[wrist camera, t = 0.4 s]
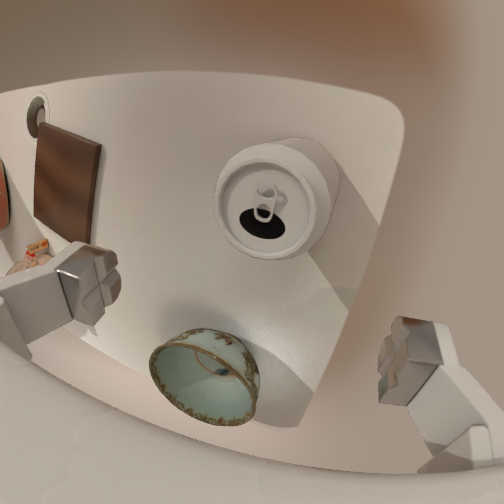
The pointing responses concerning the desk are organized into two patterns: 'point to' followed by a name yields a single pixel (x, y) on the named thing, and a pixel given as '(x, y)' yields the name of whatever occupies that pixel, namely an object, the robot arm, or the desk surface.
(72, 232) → the board
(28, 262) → the figurine
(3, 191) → the planter
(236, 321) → the desk surface
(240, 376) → the bowl
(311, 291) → the desk surface
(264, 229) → the can
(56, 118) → the desk surface
